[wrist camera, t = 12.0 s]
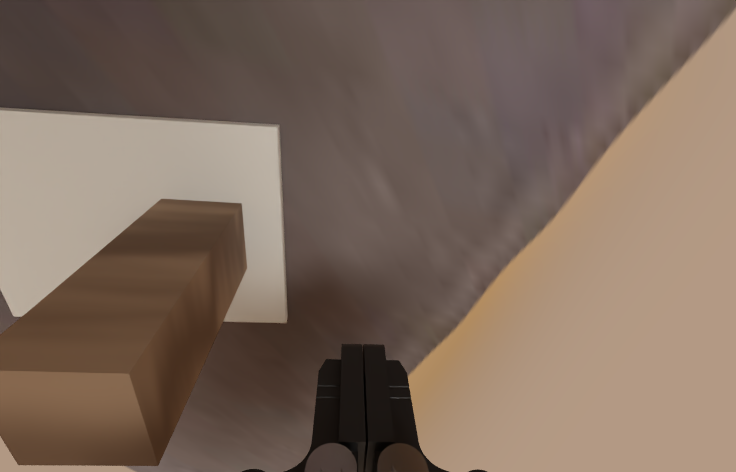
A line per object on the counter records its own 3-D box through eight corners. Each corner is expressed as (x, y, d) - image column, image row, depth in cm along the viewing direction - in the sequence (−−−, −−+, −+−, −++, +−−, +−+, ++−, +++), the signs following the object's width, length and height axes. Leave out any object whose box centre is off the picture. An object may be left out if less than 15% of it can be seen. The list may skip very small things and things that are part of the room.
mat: (-77, 102, 17) (-91, 104, 16) (279, 124, 18) (277, 127, 17) (21, 309, 22) (13, 316, 22) (287, 316, 23) (286, 323, 23)
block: (161, 198, 19) (-41, 369, 9) (241, 203, 19) (128, 373, 9) (174, 264, 21) (17, 465, 11) (247, 268, 21) (158, 465, 11)
